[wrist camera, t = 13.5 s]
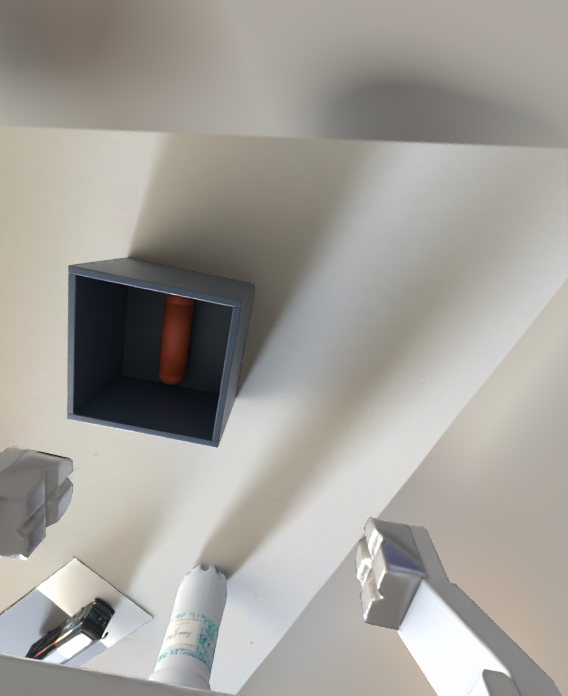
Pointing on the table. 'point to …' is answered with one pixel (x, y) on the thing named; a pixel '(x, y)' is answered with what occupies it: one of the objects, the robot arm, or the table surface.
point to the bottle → (193, 630)
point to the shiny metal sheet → (69, 618)
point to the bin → (153, 349)
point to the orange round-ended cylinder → (175, 338)
